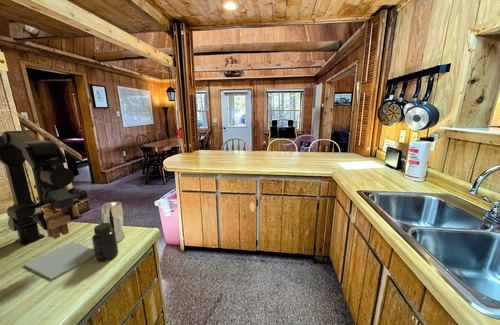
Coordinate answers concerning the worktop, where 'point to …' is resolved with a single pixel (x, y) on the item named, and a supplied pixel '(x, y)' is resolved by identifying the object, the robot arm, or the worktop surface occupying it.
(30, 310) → the worktop surface
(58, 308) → the worktop surface
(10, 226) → the robot arm
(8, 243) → the worktop surface
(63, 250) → the rubber mat
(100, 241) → the supplement bottle
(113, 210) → the beer glass
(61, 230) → the walnut stool
